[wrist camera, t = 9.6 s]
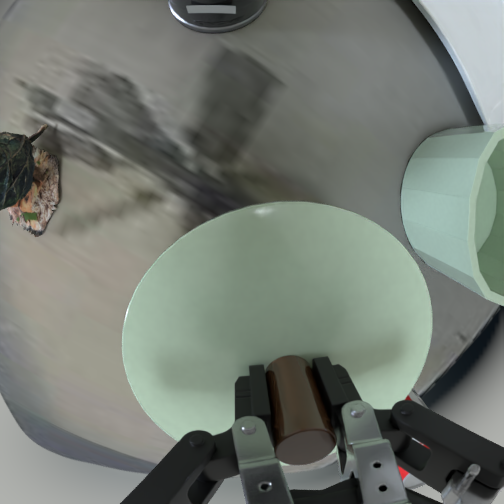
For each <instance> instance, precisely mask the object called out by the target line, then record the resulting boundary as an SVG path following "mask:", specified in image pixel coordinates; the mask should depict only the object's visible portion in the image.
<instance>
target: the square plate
mask: <svg viewBox="0 0 504 504" xmlns="http://www.w3.org/2000/svg"><path fill="white" fill-rule="evenodd" d="M412 1H413V2H414V4H415V5H416V6H417V7H418V9H419V10H420V11H421V13H422V14H423V15H424V17H425V18H426V19H427V21H428V22H429V23H430V25H431V26H432V28H433V29H434V31H435V32H436V33H437V35H438V36H439V38H440V40H441V41H442V43H443V44H444V46H445V48H446V49H447V51H448V52H449V54H450V56H451V58H452V59H453V61H454V63H455V65H456V67H457V69H458V70H459V72H460V74H461V76H462V78H463V80H464V82H465V85H466V87H467V89H468V91H469V93H470V95H471V98H472V100H473V102H474V104H475V106H476V108H477V110H478V113H479V115H480V117H481V119H482V121H483V123H484V125H491V124H502V123H504V0H412Z"/></svg>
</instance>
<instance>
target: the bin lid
mask: <svg viewBox="0 0 504 504" xmlns="http://www.w3.org/2000/svg"><path fill="white" fill-rule="evenodd" d="M431 335H432V307H431V300H430V295H429V291H428V288H427V285H426V282H425V279H424V277H423V275H422V273H421V271H420V269H419V267H418V265H417V263H416V262H415V260H414V259H413V257H412V256H411V255H410V253H409V252H408V251H407V249H406V248H405V247H404V246H403V245H402V244H401V243H400V242H399V241H398V240H397V239H396V238H395V237H394V236H393V235H392V234H391V233H389V232H388V231H386V230H385V229H383V228H382V227H381V226H379V225H378V224H376V223H375V222H373V221H371V220H369V219H367V218H365V217H363V216H361V215H358V214H356V213H354V212H352V211H349V210H345V209H342V208H339V207H335V206H332V205H328V204H323V203H316V202H308V201H273V202H266V203H260V204H253V205H249V206H245V207H242V208H239V209H235V210H232V211H228V212H226V213H223V214H221V215H219V216H217V217H214V218H212V219H210V220H208V221H206V222H203V223H202V224H200V225H199V226H197V227H195V228H194V229H192V230H191V231H189V232H188V233H186V234H184V235H183V236H181V237H180V238H179V239H178V240H177V241H176V242H174V243H173V244H172V245H171V246H170V247H169V248H167V249H166V250H165V251H164V252H163V253H162V254H161V255H160V257H159V258H158V259H157V260H156V261H155V262H154V264H153V265H152V266H151V267H150V268H149V269H148V271H147V272H146V273H145V275H144V276H143V278H142V280H141V281H140V283H139V285H138V286H137V288H136V290H135V291H134V294H133V296H132V299H131V301H130V304H129V306H128V309H127V312H126V317H125V321H124V326H123V334H122V353H123V362H124V367H125V371H126V375H127V378H128V381H129V384H130V386H131V388H132V390H133V393H134V395H135V397H136V398H137V400H138V402H139V403H140V405H141V406H142V408H143V409H144V411H145V412H146V413H147V414H148V416H149V417H150V418H151V419H152V420H153V421H154V423H155V424H157V425H158V426H159V427H160V428H161V429H162V430H163V431H164V432H165V433H166V434H168V435H169V436H171V437H172V438H173V439H175V440H176V441H178V442H179V440H180V439H181V438H182V437H183V436H184V435H185V434H187V433H189V432H191V431H195V430H203V431H207V432H209V433H211V434H212V435H216V434H220V433H223V432H225V431H227V430H228V429H230V428H231V427H232V425H233V423H234V421H235V382H236V380H237V379H238V377H239V376H250V374H249V366H250V365H261V364H264V370H265V377H266V384H267V391H268V397H269V404H270V411H271V423H272V430H271V435H272V443H273V450H274V453H275V456H276V457H278V459H279V461H280V464H281V466H285V465H306V464H311V463H314V462H317V461H319V460H321V459H323V458H325V457H326V456H328V455H330V454H333V453H335V452H336V445H337V437H336V434H335V431H334V428H333V425H332V423H331V420H330V417H329V414H328V412H327V409H326V406H325V403H324V401H323V398H322V395H321V392H320V390H319V387H318V384H317V381H316V379H315V376H314V373H313V371H312V359H313V358H318V357H324V356H328V357H329V359H330V361H331V364H332V365H336V364H340V365H341V366H342V367H344V368H345V369H346V370H347V372H348V374H349V376H350V378H351V379H352V382H353V383H354V385H355V387H356V389H357V391H358V393H359V395H360V397H361V399H362V401H365V402H367V403H369V404H370V405H371V406H372V407H373V408H374V409H392V407H393V405H394V404H395V403H397V402H398V401H401V400H405V398H406V397H407V396H408V394H409V393H410V391H411V390H412V388H413V386H414V385H415V383H416V381H417V379H418V378H419V376H420V373H421V371H422V369H423V366H424V364H425V361H426V358H427V355H428V351H429V347H430V342H431Z"/></svg>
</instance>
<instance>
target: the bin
mask: <svg viewBox="0 0 504 504" xmlns="http://www.w3.org/2000/svg"><path fill="white" fill-rule="evenodd" d="M401 214H402V220H403V225H404V229H405V232H406V235H407V237H408V240H409V242H410V244H411V246H412V248H413V249H414V251H415V252H416V253H417V255H418V256H419V257H420V258H421V259H422V260H423V261H424V262H425V263H426V264H427V265H428V266H430V267H432V268H434V269H436V270H437V271H439V272H441V273H443V274H444V275H446V276H448V277H450V278H451V279H453V280H455V281H457V282H458V283H460V284H462V285H463V286H465V287H467V288H469V289H470V290H472V291H474V292H475V293H477V294H479V295H480V296H482V297H484V298H485V299H487V300H490V301H492V302H495V303H497V304H500V305H502V306H504V123H502V124H491V125H480V126H471V127H462V128H454V129H446V130H444V131H442V132H438V133H436V134H433V135H432V136H430V137H428V138H427V139H426V140H425V141H423V142H422V143H421V144H420V146H419V147H418V148H417V149H416V151H415V152H414V154H413V155H412V157H411V159H410V161H409V163H408V166H407V168H406V171H405V175H404V179H403V183H402V191H401Z"/></svg>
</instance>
